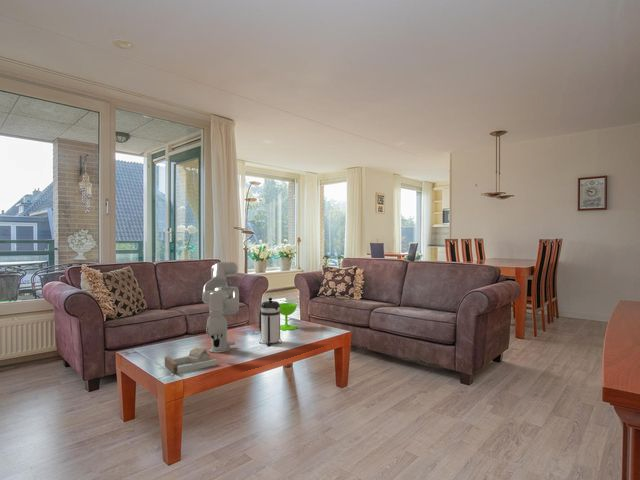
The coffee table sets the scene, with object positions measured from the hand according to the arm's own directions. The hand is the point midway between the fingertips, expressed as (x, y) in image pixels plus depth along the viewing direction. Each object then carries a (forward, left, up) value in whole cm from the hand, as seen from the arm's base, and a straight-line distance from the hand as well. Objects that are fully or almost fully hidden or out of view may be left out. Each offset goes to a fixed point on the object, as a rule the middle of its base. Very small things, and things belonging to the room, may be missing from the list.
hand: (216, 346), depth 212 cm
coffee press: (-41, -14, -8) cm, 44 cm away
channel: (+14, -1, -8) cm, 16 cm away
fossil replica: (+10, -1, -8) cm, 13 cm away
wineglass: (-72, -42, -8) cm, 84 cm away
